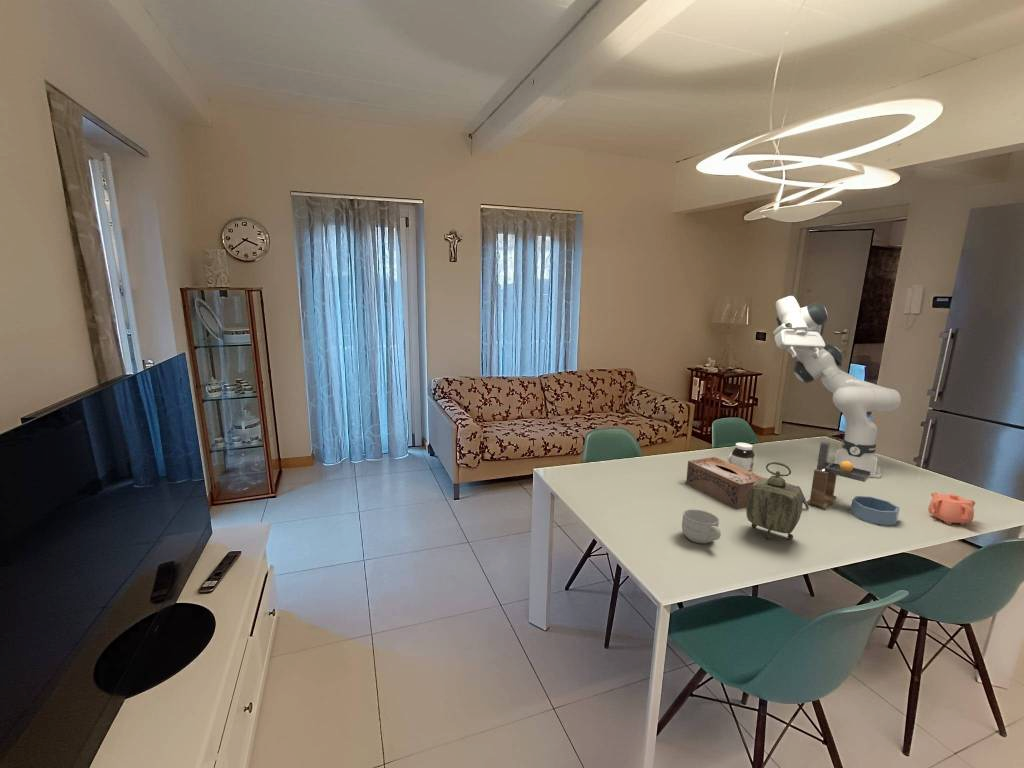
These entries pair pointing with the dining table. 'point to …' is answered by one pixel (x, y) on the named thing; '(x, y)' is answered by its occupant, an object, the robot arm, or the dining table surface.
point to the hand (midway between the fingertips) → (805, 357)
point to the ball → (846, 466)
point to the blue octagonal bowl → (875, 510)
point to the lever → (838, 466)
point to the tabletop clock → (774, 503)
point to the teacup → (700, 526)
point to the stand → (822, 489)
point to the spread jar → (742, 456)
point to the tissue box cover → (721, 480)
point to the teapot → (951, 508)
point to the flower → (804, 500)
